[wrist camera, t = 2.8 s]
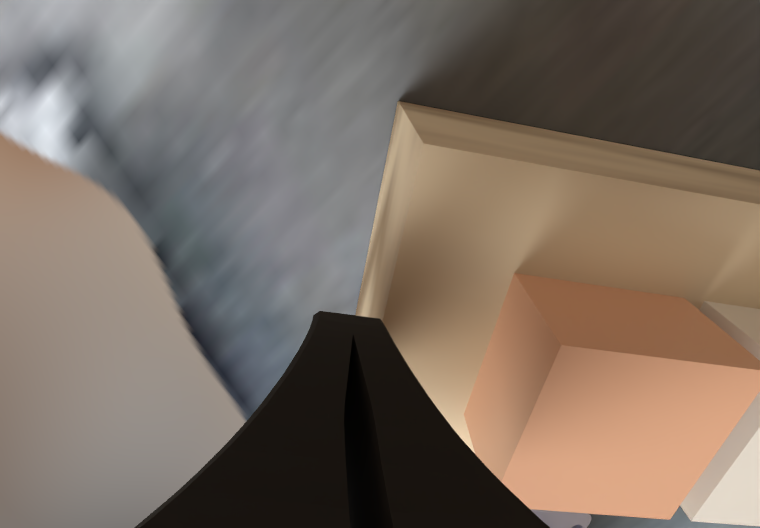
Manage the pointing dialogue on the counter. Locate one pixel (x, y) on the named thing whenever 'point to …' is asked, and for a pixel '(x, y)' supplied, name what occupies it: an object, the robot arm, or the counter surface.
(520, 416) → the terracotta tile
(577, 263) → the wooden box
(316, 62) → the counter surface
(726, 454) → the cream square block
